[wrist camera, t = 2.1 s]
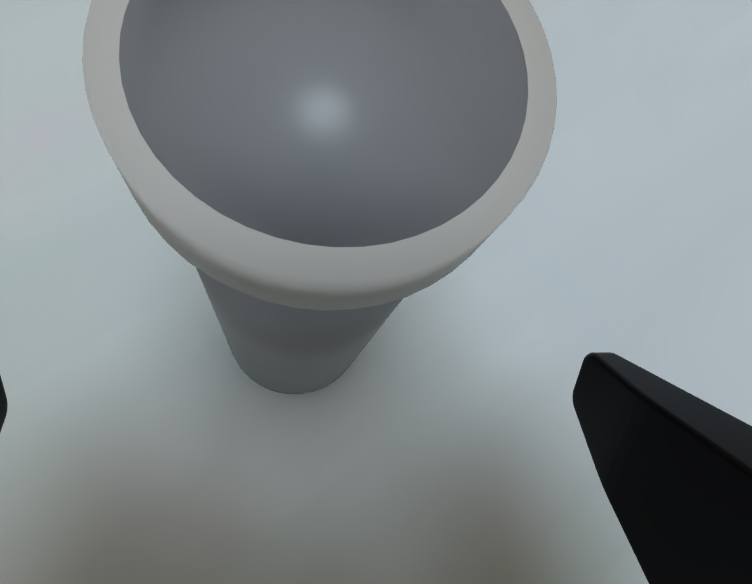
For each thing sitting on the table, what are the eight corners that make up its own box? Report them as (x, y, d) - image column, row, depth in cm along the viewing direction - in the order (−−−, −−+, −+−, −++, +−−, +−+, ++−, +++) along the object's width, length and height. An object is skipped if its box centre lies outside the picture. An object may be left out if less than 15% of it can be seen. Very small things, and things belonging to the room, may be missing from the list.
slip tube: (400, 342, 20) (643, 119, 7) (278, 437, 19) (281, 387, 5) (311, 228, 21) (373, -181, 7) (185, 310, 19) (-20, -20, 6)
